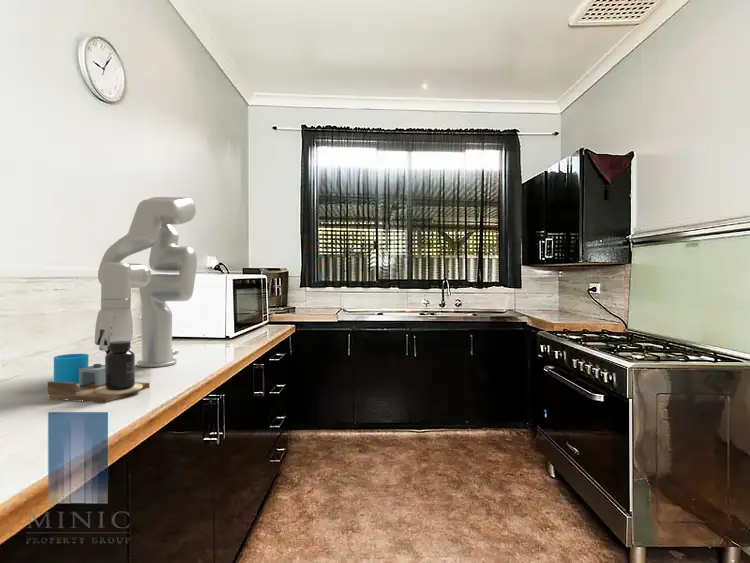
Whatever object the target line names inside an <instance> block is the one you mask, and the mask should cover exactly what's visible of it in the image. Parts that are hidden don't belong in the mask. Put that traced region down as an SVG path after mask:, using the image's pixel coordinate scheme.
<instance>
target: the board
mask: <svg viewBox="0 0 750 563" xmlns="http://www.w3.org/2000/svg"><path fill="white" fill-rule="evenodd" d="M150 387H151V386H150V382H142V381H140V382H139V381H135V385H134V386H133V387H131V388H128V389H123V390H108V389H106V385H105V384H103V385H100V386H95V381H94V382H91V383H87V384H84V385H80V384H76V383H70V382H54V381H48V382H47V395H49V396H48V398H49V400H53V399H68V400H67V401H69V400H81V401H80V402H85V401H93V402H92V403H101V402H102V403H101V404H107V403H111V402H112V401H116V400H118V399H121V398H124V397H126V396H129V395H132V394H135V393H137V392H140V391H142V390H146V389H148V388H150ZM82 400H83V401H82Z"/></svg>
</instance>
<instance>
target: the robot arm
mask: <svg viewBox="0 0 750 563" xmlns="http://www.w3.org/2000/svg"><path fill="white" fill-rule="evenodd" d="M196 209H197V208H196V204H195V202H194V201H193V199H192V198H190V197H184V196H183V197H181V196H154V197H153V196H152V197H150V198H148V199H144V200H142V201H140V202H139V203H138V204H137V207H136V209H135V212H134V215H133V217H132V220H131V223H130V227H129V229H128V232H127V234H125V235H124V236H122V237H120V238H119V239H117V241H115V242H114V243H113V244H112V245H110V246H109V247H108V248H107V249H106V251H105V252H104V254H103V256H102V258H101V261H100V264H99V266H98V271H97V278H98V282H99V284H100V285H101V286H100V310H98V313H97V317H96V322H95V327H94V328H95V330H94V344H95V345H96V346H99V347H98V350H99V351H103V352H105V354H106V355H107V354H108V353H109V352H110V350H109V348H110V343H111V342H116V341H130V343H131V342H132V340H133V337H134V336H133V334H134V331H133V330H134V328H133V327H134V326H133V325H134V324H133V314H132V308H131V303H132V300H131V298H132V289H138V291H139V296H140V302H141V324H142V325H141V359H140V360H138V361H136V366H137V367H143V368H157V367H168V366H172V365H175V364H177V362H178V361H177V358H174V357H173V356H175V355H178V354H179V349H176V348H175V349H173V313H172V310H171V309H170V307H169V306H168V304H167V303H166V302H187V301H189V300H190V299H191V298H192V297H193V293H194V287H195V281H196V274H197V266H198V258H197V253H196V251H195V250H194V248H192V247H190V246H185V245H184V246H182V245H178V244H179V238H180V237H179V233H178V232H177V230H176V229H175V228H174V227H173V225H174V226H175V225H182V224H185V223H188V222H190V221H192V220H193V219H194V218H195V217H196V216H195V215H196V211H197V210H196ZM148 249H150V253H149V258H148V265H149V267H148V266H146V265H145V264H142V263H126V262H122V261H123V260H124V259H126V258H127V257H130V256H132V255H135V254H136V253H139V252H143V251H145V250H148ZM149 268H150V269H151V270H152V271H153V272H157V273H153V274H152V273H151V270H150V269H149ZM172 273H174V274H172ZM175 273H177V274H175ZM106 355H105V356H106Z"/></svg>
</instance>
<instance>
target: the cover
mask: <svg viewBox="0 0 750 563" xmlns="http://www.w3.org/2000/svg"><path fill="white" fill-rule="evenodd" d="M94 381H95V386H100V385H103V384H105V364H101V363H94V364H93V365H90V366H89V365H88V367H85V368H81V369H79V384H80V385H84V384H87V383H91V382H94Z"/></svg>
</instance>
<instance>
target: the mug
mask: <svg viewBox="0 0 750 563" xmlns="http://www.w3.org/2000/svg"><path fill="white" fill-rule="evenodd" d="M85 367H89V354H87V353H67V354H60V355H55V356H54V357H53V382H70V383H76V384H79V369H81V368H85Z"/></svg>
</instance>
